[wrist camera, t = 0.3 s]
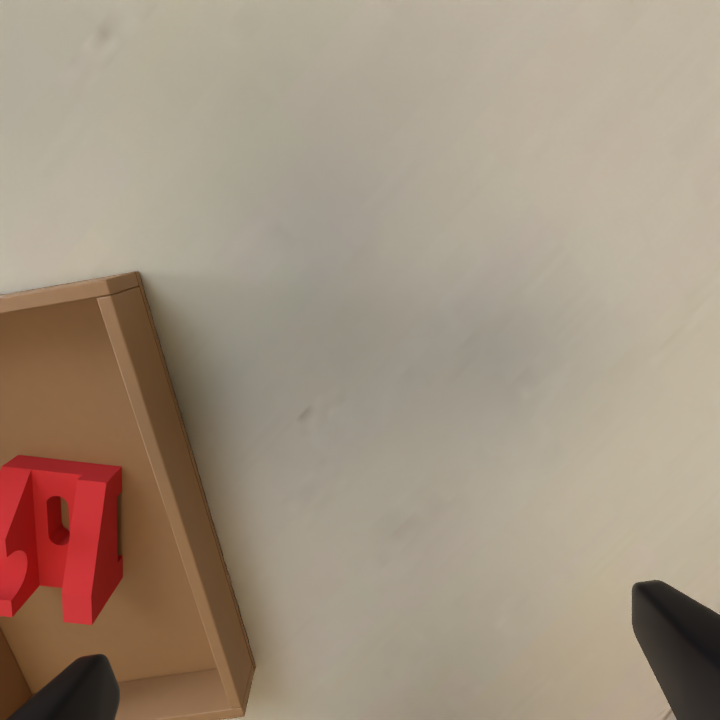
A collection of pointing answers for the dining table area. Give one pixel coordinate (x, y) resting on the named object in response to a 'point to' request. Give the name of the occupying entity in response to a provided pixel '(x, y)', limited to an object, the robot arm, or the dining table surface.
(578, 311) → the dining table surface
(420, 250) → the dining table surface
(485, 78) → the dining table surface
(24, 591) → the bracket
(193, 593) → the cardboard box
